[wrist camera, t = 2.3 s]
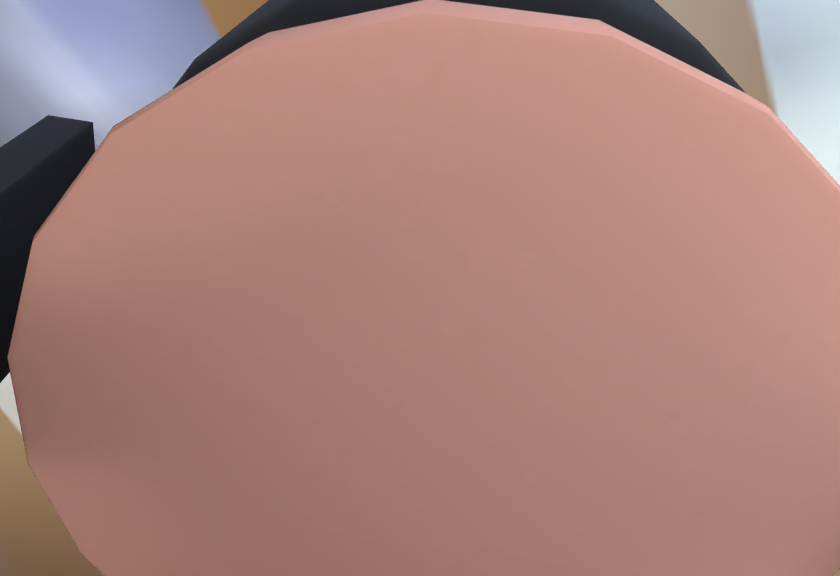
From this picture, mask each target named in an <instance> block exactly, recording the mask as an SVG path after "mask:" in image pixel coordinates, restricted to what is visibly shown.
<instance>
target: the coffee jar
mask: <svg viewBox="0 0 840 576" xmlns="http://www.w3.org/2000/svg"><path fill="white" fill-rule="evenodd" d="M8 363H9V368H10V373H11V379H12V384H13V389H14V394H15V399H16V405H17V410H18V415H19V420H20V425H21V431H22V436H23V441H24V446H25V451H26V457H27V462H28V465H29V467H30V468H31V470H32V471H33V473H34V475H35V477H36V478H37V480H38V482H39V483H40V485H41V487H42V488H43V490H44V492H45V494H46V495H47V497H48V498H49V500H50V502H51V504H52V505H53V507H54V509H55V510H56V512H57V513H58V515H59V517H60V519H61V520H62V522H63V524H64V525H65V527H66V529H67V530H68V532H69V534H70V536H71V537H72V539H73V541H74V542H75V544H76V545H77V547H78V549H79V551H80V553H81V554H82V555H83V556H84V557H85V558H86V559H87V560H88V561H89V562H90V563H92V565H94V566H95V567H96V568H97V569H98V570H99V571H100V572H101V573H102V574H103V575H104V576H833V575H834V574H835V573H836V572H837V571H838V570H840V186H839V184H838V183H837V182H836V181H835V180H834V179H833V178H832V177H831V176H830V175H829V173H828V172H827V171H826V170H825V169H824V168H823V167H822V166H821V165H820V163H819V162H818V161H817V160H816V159H815V158H814V157H813V156H812V155H811V153H810V152H809V151H808V150H807V149H806V148H805V147H804V146H803V145H802V144H801V142H800V141H799V140H798V139H797V138H796V137H795V136H794V135H793V134H792V132H791V131H790V130H789V129H788V128H787V127H786V126H785V125H784V124H783V122H782V121H781V120H780V119H779V118H778V117H777V116H776V115H775V114H774V113H773V111H772V110H771V109H770V108H769V107H768V106H766V105H764V104H763V103H761V102H759V101H758V100H756V99H754V98H752V97H751V96H749V95H747V94H746V93H745V92H744V90H743V89H742V88H741V87H740V86H739V85H738V84H737V83H736V82H735V81H734V79H733V78H732V77H731V76H730V75H729V74H728V73H727V72H726V71H725V70H724V69H723V67H722V66H721V65H720V64H719V63H718V62H717V61H716V60H715V58H714V57H713V56H712V55H711V54H710V53H709V52H708V51H707V50H706V49H705V47H704V46H703V45H702V44H701V43H700V42H699V41H698V40H697V39H696V38H695V37H693V36H692V35H691V34H690V33H689V32H688V31H687V30H686V29H685V28H684V27H683V26H681V25H680V24H679V23H678V22H677V21H676V20H675V19H674V18H672V17H671V16H670V15H669V14H668V13H667V12H666V11H665V10H664V9H663V8H662V7H660V6H659V5H658V4H657V3H656V2H655V1H654V0H269V1H267V2H266V3H265V4H264V5H262V6H261V7H260V8H259V9H257V10H256V11H255V12H254V13H252V14H251V15H250V16H249V17H247V18H246V19H245V20H244V21H242V22H241V23H240V24H239V25H237V26H236V27H235V28H234V29H232V30H231V31H230V32H228V33H227V34H226V35H225V36H224V37H222V38H221V39H220V40H218V41H217V42H216V43H215V44H213V45H212V46H211V47H210V48H208V49H207V50H206V51H205V52H203V53H202V54H201V55H200V56H198V57H197V58H196V59H195V60H194V61H193V62H192V64H191V65H190V66H189V68H188V69H187V70H186V72H185V73H184V74H183V76H182V77H181V78H180V80H179V81H178V82H177V84H176V85H175V86H174V88H173V89H172V90H171V91H170V92H168V93H166V94H165V95H163V96H162V97H160V98H158V99H157V100H155V101H154V102H152V103H150V104H149V105H147V106H145V107H144V108H142V109H141V110H139V111H137V112H136V113H134V114H133V115H131V116H129V117H128V118H126V119H124V120H123V121H121V122H120V123H118V124H116V125H115V126H113V128H112V129H111V131H110V132H109V133H108V135H107V136H106V137H105V139H104V140H103V142H102V143H101V144H100V146H99V147H98V148H97V150H96V151H95V153H94V154H93V155H92V157H91V158H90V159H89V161H88V162H87V164H86V165H85V166H84V168H83V169H82V171H81V172H80V173H79V175H78V176H77V177H76V179H75V180H74V182H73V183H72V184H71V186H70V187H69V188H68V190H67V191H66V193H65V194H64V195H63V197H62V198H61V199H60V201H59V202H58V204H57V205H56V206H55V208H54V209H53V210H52V212H51V213H50V215H49V216H48V217H47V219H46V220H45V221H44V223H43V224H42V226H41V227H40V228H39V230H38V231H37V232H36V234H35V235H34V238H33V242H32V246H31V251H30V255H29V260H28V265H27V269H26V274H25V279H24V283H23V288H22V292H21V297H20V302H19V306H18V311H17V316H16V320H15V325H14V330H13V334H12V339H11V344H10V348H9V353H8Z"/></svg>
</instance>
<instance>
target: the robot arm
mask: <svg viewBox="0 0 840 576" xmlns="http://www.w3.org/2000/svg"><path fill="white" fill-rule="evenodd" d="M94 153H95V144H94V131H93V122H87V121H81V120H75V119H68V118H62V117H55V116H49V115H48V116H46V117H45V118H44V119H42V120H41V121H39V122H38V123H36V124H35V125H33V126H32V127H30V128H29V129H27V130H26V131H24V132H23V133H21V134H20V135H18V136H17V137H15V138H14V139H12V140H11V141H9V142H8V143H6V144H5V145H3V146H2V147H0V383H1V381H2V380H3V379H4V378H5V377H6V376H7V374H8V373H9V372H10V368H9V363H8V353H9V348H10V344H11V339H12V334H13V330H14V325H15V320H16V316H17V311H18V306H19V302H20V297H21V292H22V288H23V283H24V279H25V274H26V269H27V265H28V260H29V255H30V251H31V246H32V242H33V238H34V235H35V234H36V232H37V231H38V230H39V228H40V227H41V226H42V224H43V223H44V221H45V220H46V219H47V217H48V216H49V215H50V213H51V212H52V210H53V209H54V208H55V206H56V205H57V204H58V202H59V201H60V199H61V198H62V197H63V195H64V194H65V193H66V191H67V190H68V188H69V187H70V186H71V184H72V183H73V182H74V180H75V179H76V177H77V176H78V175H79V173H80V172H81V171H82V169H83V168H84V166H85V165H86V164H87V162H88V161H89V159H90V158H91V157H92V155H93V154H94Z"/></svg>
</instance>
